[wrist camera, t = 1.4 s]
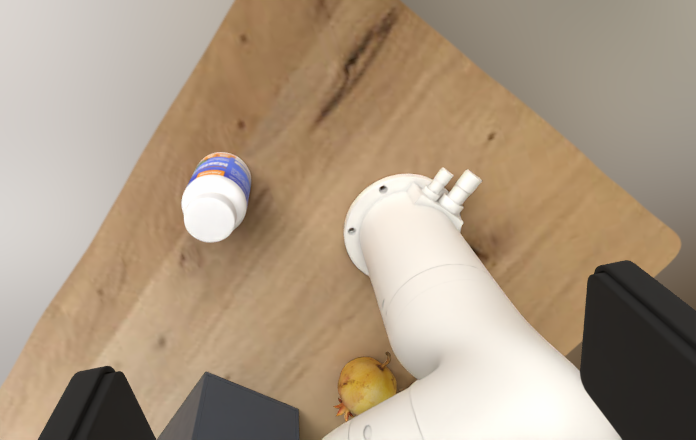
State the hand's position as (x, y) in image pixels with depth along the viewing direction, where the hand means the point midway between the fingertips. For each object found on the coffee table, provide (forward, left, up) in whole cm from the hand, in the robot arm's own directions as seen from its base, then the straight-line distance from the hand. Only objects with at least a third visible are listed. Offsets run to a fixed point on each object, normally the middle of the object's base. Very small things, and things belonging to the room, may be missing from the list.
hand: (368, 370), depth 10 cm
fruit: (+25, +25, -38) cm, 52 cm away
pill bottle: (+12, -1, -38) cm, 40 cm away
